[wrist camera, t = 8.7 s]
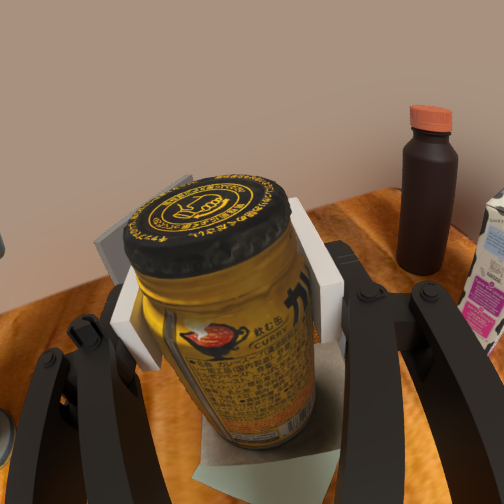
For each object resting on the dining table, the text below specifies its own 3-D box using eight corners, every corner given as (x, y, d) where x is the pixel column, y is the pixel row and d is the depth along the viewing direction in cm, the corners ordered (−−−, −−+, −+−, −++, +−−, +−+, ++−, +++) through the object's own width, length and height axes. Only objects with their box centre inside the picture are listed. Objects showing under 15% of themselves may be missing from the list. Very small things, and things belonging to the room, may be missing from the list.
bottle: (393, 272, 35) (401, 109, 24) (397, 244, 40) (401, 102, 29) (442, 280, 32) (465, 116, 21) (441, 250, 36) (454, 108, 26)
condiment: (205, 362, 18) (132, 186, 12) (336, 340, 18) (332, 146, 11) (202, 468, 12) (51, 301, 6) (367, 443, 12) (433, 233, 5)
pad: (193, 479, 18) (191, 477, 18) (246, 388, 26) (244, 385, 25) (313, 522, 14) (313, 521, 14) (353, 414, 21) (354, 411, 21)
